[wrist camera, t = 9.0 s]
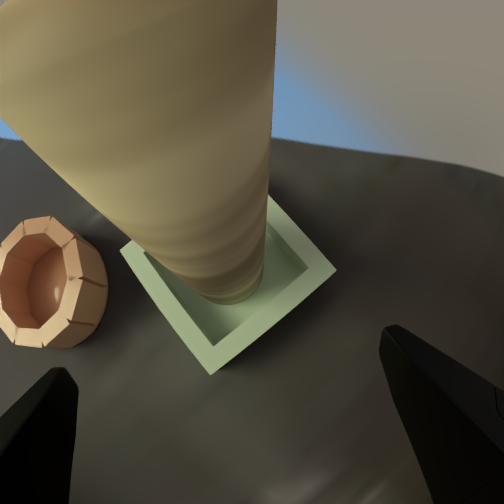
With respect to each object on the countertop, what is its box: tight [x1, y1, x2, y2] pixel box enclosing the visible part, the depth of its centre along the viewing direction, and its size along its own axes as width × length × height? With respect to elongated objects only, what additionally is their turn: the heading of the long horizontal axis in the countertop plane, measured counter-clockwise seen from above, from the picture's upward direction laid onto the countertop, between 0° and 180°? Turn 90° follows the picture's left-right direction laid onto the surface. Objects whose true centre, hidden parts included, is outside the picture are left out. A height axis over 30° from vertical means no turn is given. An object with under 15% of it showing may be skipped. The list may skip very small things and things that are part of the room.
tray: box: [120, 195, 337, 375], centre depth 17 cm, size 8×8×3 cm
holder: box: [0, 216, 108, 348], centre depth 17 cm, size 8×8×4 cm
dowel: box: [0, 0, 277, 305], centre depth 10 cm, size 4×4×16 cm
